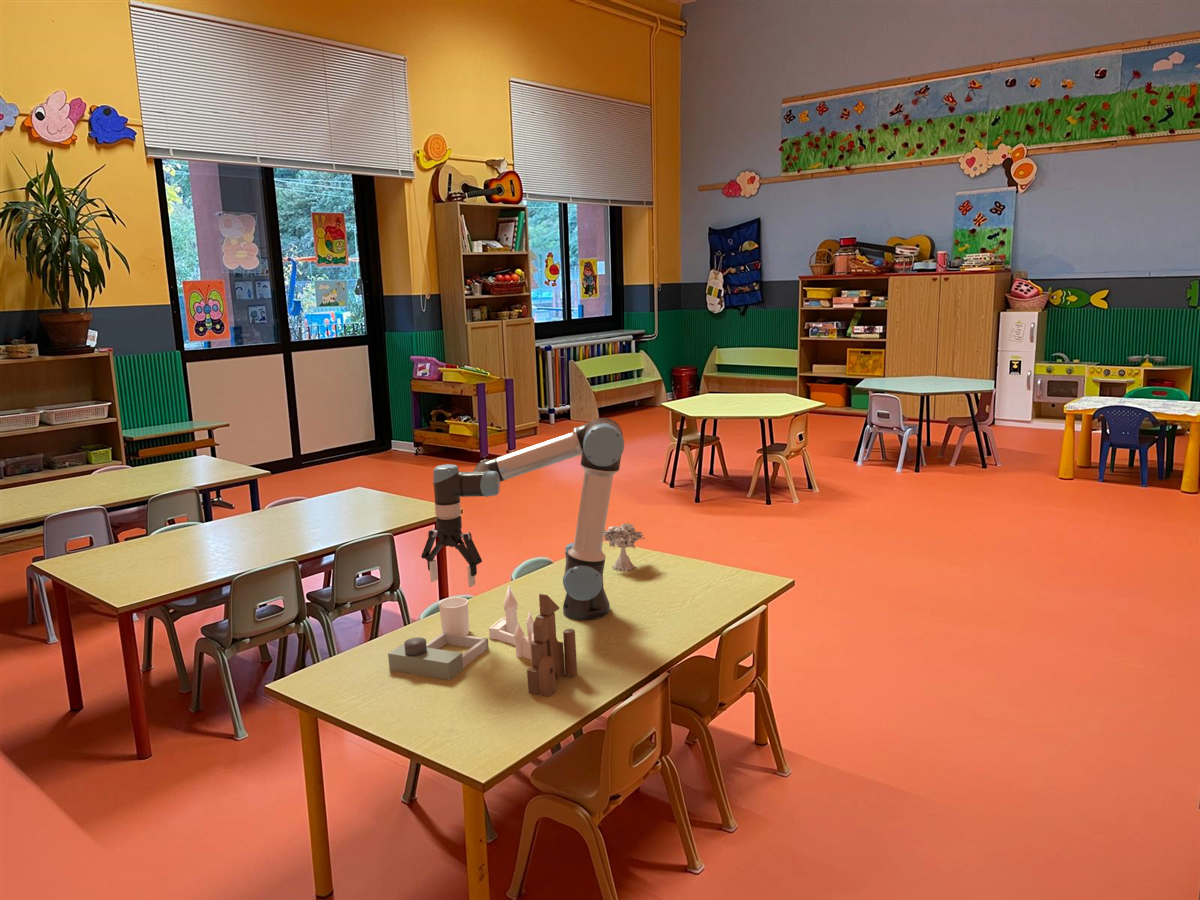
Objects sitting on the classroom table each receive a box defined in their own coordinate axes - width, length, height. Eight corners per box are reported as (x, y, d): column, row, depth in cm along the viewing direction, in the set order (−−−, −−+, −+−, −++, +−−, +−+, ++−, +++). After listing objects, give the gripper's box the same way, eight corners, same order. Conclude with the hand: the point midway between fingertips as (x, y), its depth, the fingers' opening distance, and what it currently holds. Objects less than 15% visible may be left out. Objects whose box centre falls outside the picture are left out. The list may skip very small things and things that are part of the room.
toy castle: (505, 626, 278) (502, 577, 275) (563, 645, 262) (560, 593, 259) (470, 641, 268) (466, 590, 265) (528, 662, 252) (525, 608, 248)
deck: (490, 648, 262) (489, 622, 260) (449, 680, 242) (447, 652, 240) (434, 639, 270) (432, 615, 268) (389, 670, 250) (387, 643, 248)
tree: (631, 578, 317) (629, 533, 313) (593, 572, 325) (590, 528, 321) (654, 563, 332) (652, 520, 328) (617, 557, 340) (615, 516, 337)
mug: (460, 641, 268) (457, 609, 266) (435, 637, 271) (432, 605, 269) (479, 628, 277) (477, 596, 275) (455, 624, 281) (453, 593, 279)
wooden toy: (549, 697, 230) (544, 606, 225) (528, 692, 233) (522, 602, 228) (579, 673, 243) (574, 586, 238) (558, 669, 246) (553, 583, 241)
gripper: (490, 516, 265) (494, 583, 270) (421, 509, 275) (426, 574, 280) (477, 522, 259) (481, 591, 263) (406, 515, 269) (411, 582, 273)
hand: (453, 583), depth 271 cm, fingers open, 13 cm apart
